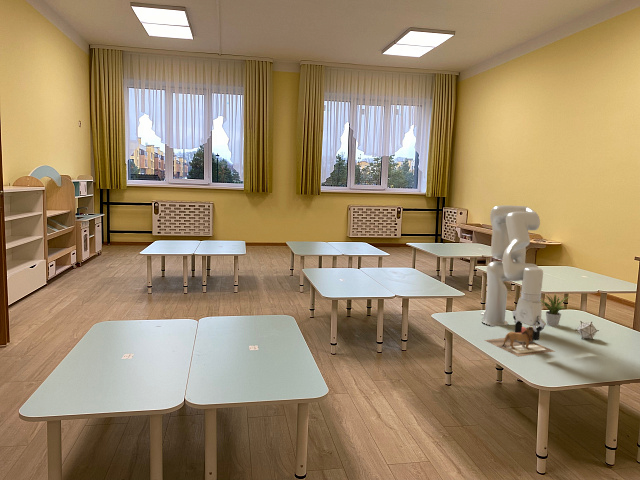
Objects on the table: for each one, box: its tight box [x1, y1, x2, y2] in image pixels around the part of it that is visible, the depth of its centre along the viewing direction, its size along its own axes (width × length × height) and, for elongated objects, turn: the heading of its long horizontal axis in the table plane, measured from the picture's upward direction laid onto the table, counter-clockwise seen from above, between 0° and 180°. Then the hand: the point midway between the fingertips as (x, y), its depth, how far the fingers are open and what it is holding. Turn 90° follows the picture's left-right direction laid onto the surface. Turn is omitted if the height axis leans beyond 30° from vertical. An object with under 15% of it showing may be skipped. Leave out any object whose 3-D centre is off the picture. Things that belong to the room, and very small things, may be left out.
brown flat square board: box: [484, 337, 556, 357], centre depth 204 cm, size 20×20×1 cm
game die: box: [574, 320, 600, 341], centre depth 219 cm, size 9×8×10 cm
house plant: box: [540, 293, 570, 327], centre depth 239 cm, size 14×14×16 cm
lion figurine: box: [502, 326, 534, 349], centre depth 200 cm, size 15×5×9 cm, turn 98°
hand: (526, 336), depth 200 cm, fingers open, 9 cm apart
